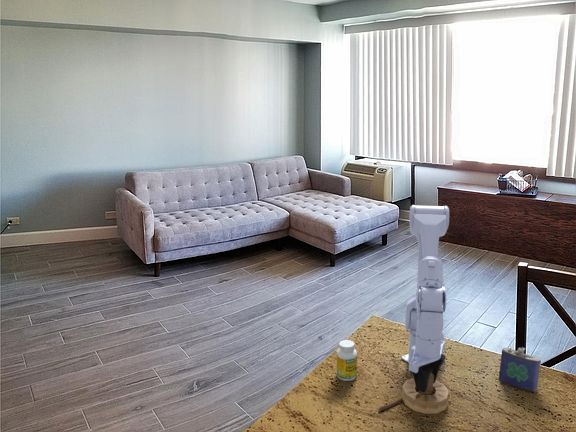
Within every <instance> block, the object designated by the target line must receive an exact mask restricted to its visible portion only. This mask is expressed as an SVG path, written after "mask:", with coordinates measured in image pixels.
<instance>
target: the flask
mask: <svg viewBox="0 0 576 432" xmlns="http://www.w3.org/2000/svg"><path fill="white" fill-rule="evenodd" d="M525 351H526V348H525V347H523V346H522V347H518V348H517V350H515V349H512V347H504V348H502V349H501V354H500V355H501V356H500V366H499V372H498V381H499V382H500V383H502V384H504V385H506V386H508V387H511V388H514V389H518V390H520V389H521V391H523V390H525V392H527V391H530V392H529V393H532V392H535V393H537V391H538V386H539V379H540V368H541V364H542V360H541V358H540V357H538V356H534V355H530V354H526V353H525Z"/></svg>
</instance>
